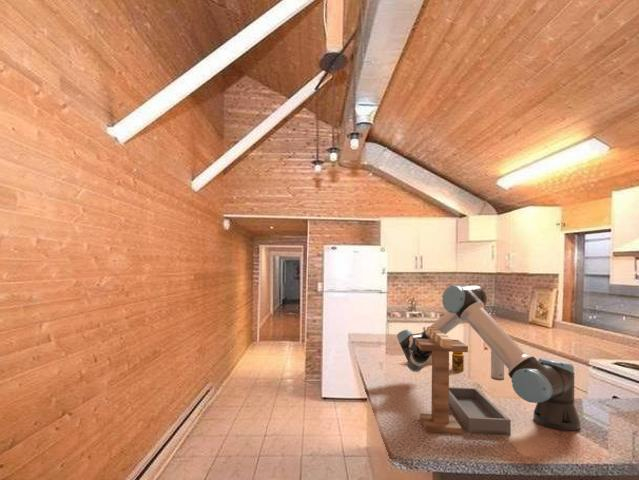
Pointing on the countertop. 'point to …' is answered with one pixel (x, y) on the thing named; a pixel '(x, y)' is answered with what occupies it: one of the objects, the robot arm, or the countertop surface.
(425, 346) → the shelf stand
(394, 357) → the countertop surface
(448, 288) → the robot arm
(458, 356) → the condiment
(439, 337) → the ash bar
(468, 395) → the tray
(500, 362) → the travel mug
